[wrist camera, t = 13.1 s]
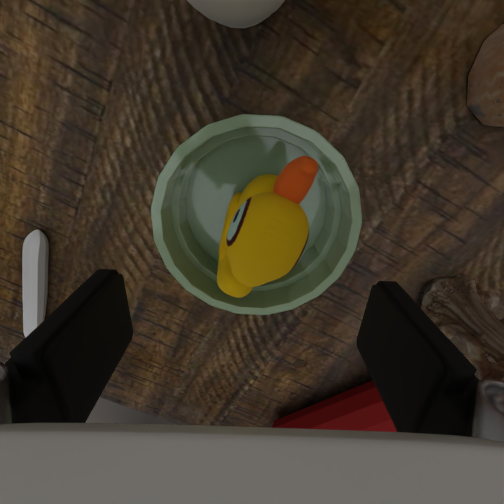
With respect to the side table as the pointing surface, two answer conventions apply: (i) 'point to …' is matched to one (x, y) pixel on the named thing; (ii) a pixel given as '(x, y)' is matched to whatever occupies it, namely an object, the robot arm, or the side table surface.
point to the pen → (34, 280)
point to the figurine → (468, 320)
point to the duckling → (265, 229)
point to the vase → (488, 81)
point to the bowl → (235, 180)
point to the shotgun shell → (344, 412)
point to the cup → (236, 11)
